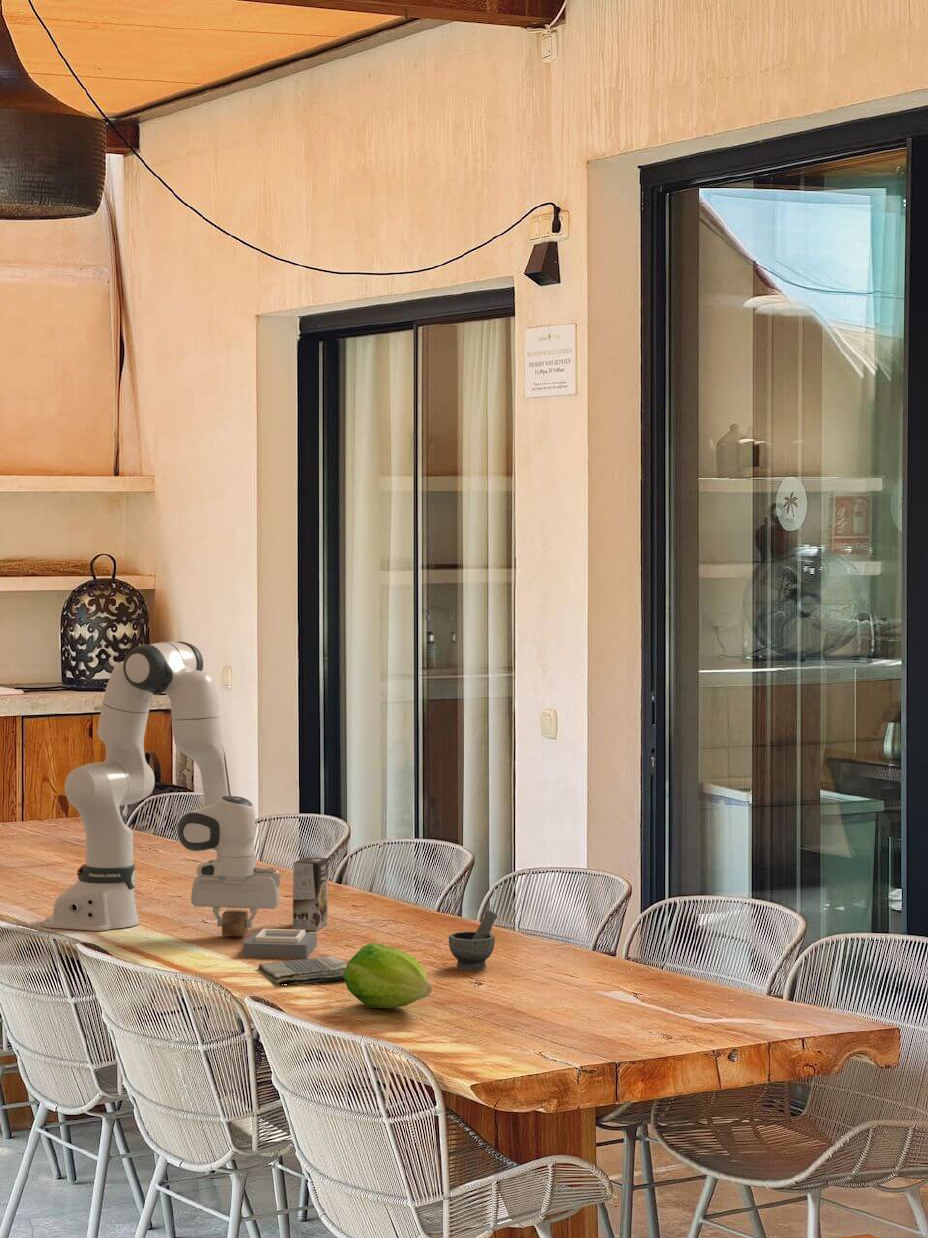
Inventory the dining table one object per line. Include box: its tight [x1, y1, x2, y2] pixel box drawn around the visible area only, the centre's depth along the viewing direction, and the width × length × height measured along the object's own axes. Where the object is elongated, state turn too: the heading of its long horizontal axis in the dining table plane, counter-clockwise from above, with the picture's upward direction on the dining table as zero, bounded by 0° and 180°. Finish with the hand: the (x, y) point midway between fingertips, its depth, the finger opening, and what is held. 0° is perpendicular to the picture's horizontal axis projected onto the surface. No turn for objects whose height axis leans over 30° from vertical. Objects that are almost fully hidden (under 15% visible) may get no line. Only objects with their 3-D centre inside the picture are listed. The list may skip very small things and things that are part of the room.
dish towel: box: [257, 956, 348, 987], centre depth 378 cm, size 19×18×3 cm
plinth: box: [242, 928, 318, 960], centre depth 401 cm, size 14×14×4 cm
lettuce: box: [344, 942, 433, 1009], centre depth 347 cm, size 14×20×12 cm
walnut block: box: [221, 909, 249, 937], centre depth 417 cm, size 5×5×5 cm
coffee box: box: [291, 857, 329, 932], centre depth 430 cm, size 9×6×16 cm
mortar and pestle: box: [448, 909, 498, 972], centre depth 387 cm, size 11×9×12 cm
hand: (234, 926), depth 417 cm, fingers closed on walnut block, 5 cm apart
